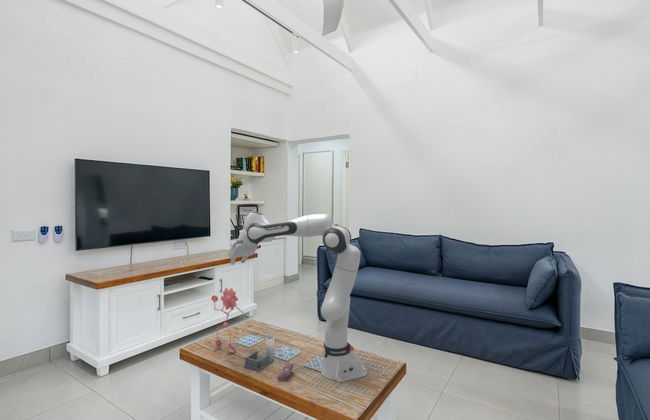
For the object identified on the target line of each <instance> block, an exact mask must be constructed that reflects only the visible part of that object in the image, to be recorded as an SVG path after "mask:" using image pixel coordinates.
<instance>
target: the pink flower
mask: <svg viewBox="0 0 650 420" xmlns="http://www.w3.org/2000/svg"><path fill="white" fill-rule="evenodd" d="M236 294H237V292H236V291H235V290H234V289H233V288H229V287H225V288H224V290H223V292H222V296H220V301H221V302H222V306H223V307H222V308H221V309H219V308H218V309H217V308H216V302H218V300H219V298H218V296H217V295H216V294H213V295H212V296H211V301H212V302H213V303H214V305H213V307H214V309H213V310H214V311H220V312H223V314H225V315H226V320H225V322H223V324H222V325H220V326H219V327H217V328H216V329H215V331H216V336H217V339H216V340H215V341H214V342H215V347H214V351H213V352H216V350H217V348H221V347H222V345H223V341H221V339H219V333H218V329H220V328H222V327H223V328H227V329H228V330H229V332H230V335H229V342H227V345H228V347H227V350H226V352H225V355H224V356H225V357H227V354H228V352H229V350H230V349H231V350H232V351H234V352H235V353H237V350H236V348H235V347H234V346H233V345H232V341H231V339H232V332H231V330H230V328H229V323H228V317H229V315H230V314H231V312H232V311H233V310H234V309H235V308H236V309H237V311H239V312H240V313H242V314H243V315H244V314H245V313H244V312H243V310H241V309H240V308H239V307H238V306H237V301H239V297H238V296H237V295H236ZM224 309H225V310H224ZM229 309H230V310H229ZM227 310H229V312H227ZM233 344H235V345H239V343H236V342H234V343H233ZM241 347H242V348H243V347H244V346H242V345H241ZM232 359H234V357H232Z"/></svg>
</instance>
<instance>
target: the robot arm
mask: <svg viewBox="0 0 650 420" xmlns="http://www.w3.org/2000/svg"><path fill="white" fill-rule="evenodd" d="M280 236H281V237H282V236H283V237H284V236H289V237H297V238H300V237H301V238H310V237H318V236H319V237H320V236H322V244H323V245H324V247H325V248H326V249H328V250H329V251H331V252H332V253H334V255H337V259H336V262H335V266H334V269H333V272H332V273H333V274H332V276H331V280H330V282H329V286H328V287H327V289H326V293H325V296H324V299H323V301H322V305H321V307H320V314H321V317H322V318H323V319H324V320H326V322H325V326H324V343H323V351H322V352H323V362H322V366H321V367H322V368H321V370H320V374H321V375H322V376H323V377H324V378H326V379H329V380H333V381H335V382H338V383H344V382H347V381H351V380H356V379H360V378H363V377H364V378H365V377H366V376H367V375H368V371H367V368H366V366H365V365H364V364H363V363H362V360H361V358H360V357H359V355H358V354H357V353H355V352H354V349H355V347H354V346H353V345H351V344H350V343H349V342H348V326H349V318H350V306H351V296H350V295H351V293H352V291H353V289H354V285H355V283H356V282H355V281H356V279H357V274H358V271H359V266H360V261H361V250H360V249H359V248H358V247H357V246H355V245H353V244H351V241H352V233H351V232H350V230H349V229H348V228H346V227H345V226H341V225H339V224H338V223H337V224H334V221H333V219H332V216H331V215H329V214H328V213H312V214H307V215H302V216H299V217H296V218H293V219H291V220H290V219H289V220H287V221H284V222H278V223H277V222H276V223H270V222H269V221H268V219H266V217H265V214H263V213H261V212H257V211H256V212H255V211H251V212H249V213H248V215H246V218H245V220H244V223H243V227H242V230H241V231H240V233H239V236H238V239H236V240H235V241H234V242H233V243H232V244H231V245H230V247H229V250H228V252H227V256H228V257H230V265H232V266H234V265H235V263H236V259H237V258H242V259H240V263H241V264H245V263H246V261H247V259H248V258H249V257H250V256H251V257H252V256H253V255H254V254H255V252H256V250H257V248H258V245H259V244H260V243H267V242H268V243H269V242H272V241H274V240H275V238H276V237H280Z"/></svg>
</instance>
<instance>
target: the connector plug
mask: <svg viewBox="0 0 650 420" xmlns="http://www.w3.org/2000/svg"><path fill="white" fill-rule="evenodd" d="M268 354H269V355H270V358H272V359H274V357H275V337H274V334H273V333H271V332H270V333H268V334H267V336H266V338H265V356H266V355H268Z"/></svg>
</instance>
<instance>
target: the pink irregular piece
mask: <svg viewBox="0 0 650 420" xmlns="http://www.w3.org/2000/svg"><path fill="white" fill-rule="evenodd" d="M294 365H295V364H294V363H292V362H288V363H287V364H286V365H285V366H284V367H283V369H282V370H283V371H282V372H281V373H280V374H279V375H278V376H277V378H276V379H277V380H278V381H279V382H280V381H283V380H285V379H287V378H288V376H291V371H292V370H293V368H294Z"/></svg>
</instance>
